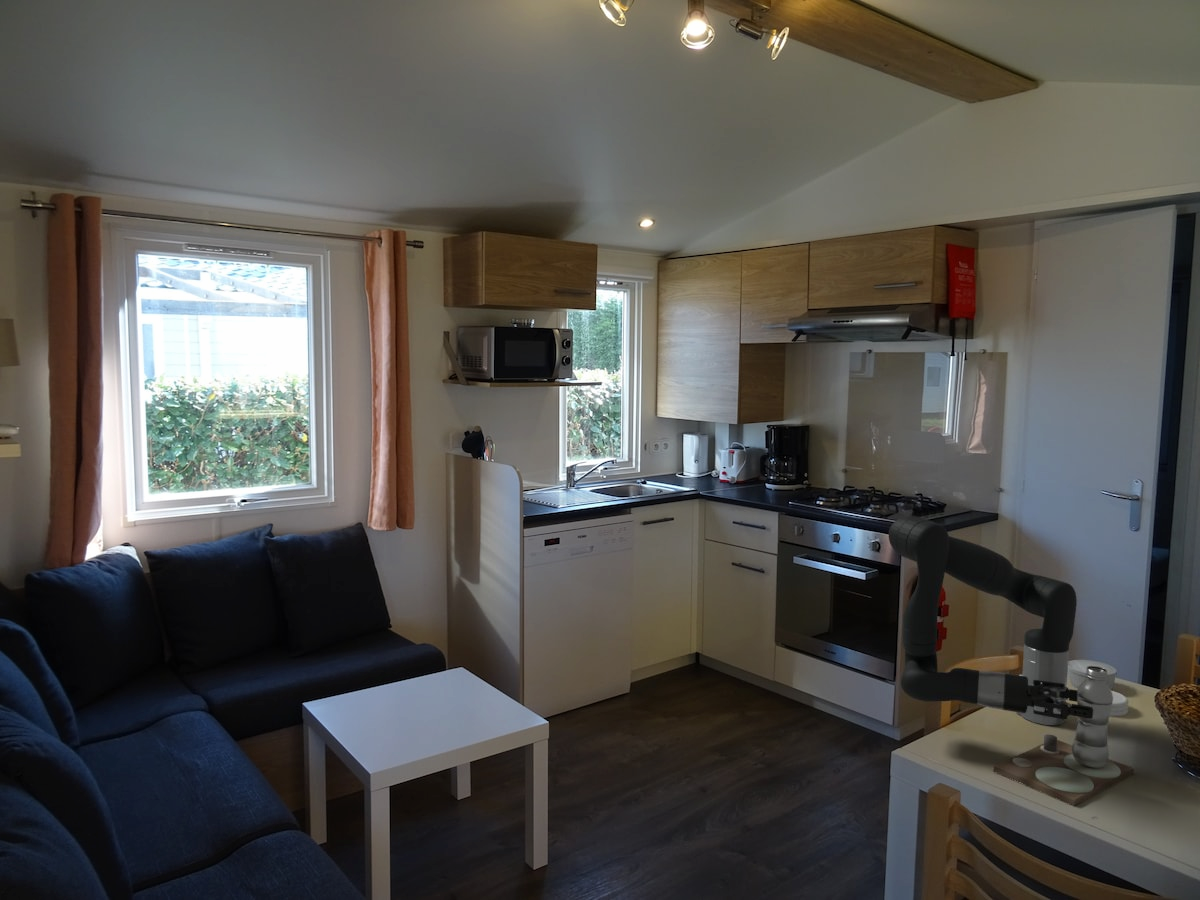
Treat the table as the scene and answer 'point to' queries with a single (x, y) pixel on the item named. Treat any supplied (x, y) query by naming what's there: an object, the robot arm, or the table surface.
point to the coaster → (1119, 705)
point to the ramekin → (1079, 671)
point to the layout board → (1061, 772)
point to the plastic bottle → (1093, 719)
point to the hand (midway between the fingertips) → (1091, 705)
